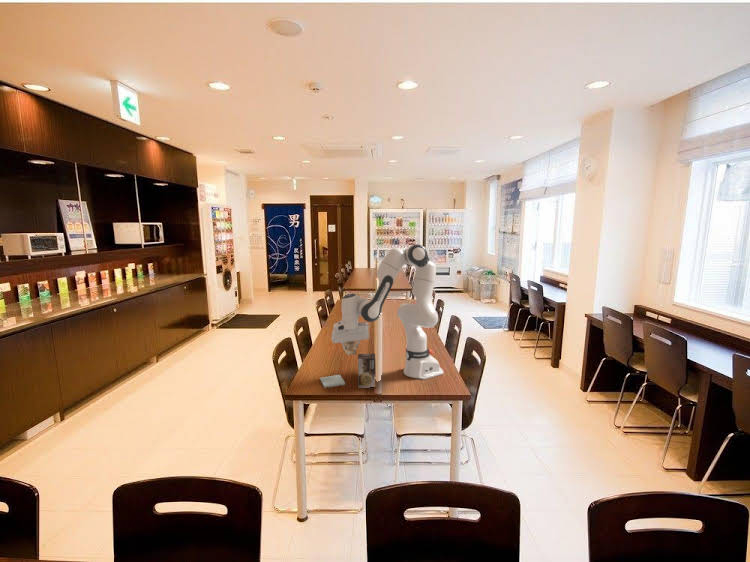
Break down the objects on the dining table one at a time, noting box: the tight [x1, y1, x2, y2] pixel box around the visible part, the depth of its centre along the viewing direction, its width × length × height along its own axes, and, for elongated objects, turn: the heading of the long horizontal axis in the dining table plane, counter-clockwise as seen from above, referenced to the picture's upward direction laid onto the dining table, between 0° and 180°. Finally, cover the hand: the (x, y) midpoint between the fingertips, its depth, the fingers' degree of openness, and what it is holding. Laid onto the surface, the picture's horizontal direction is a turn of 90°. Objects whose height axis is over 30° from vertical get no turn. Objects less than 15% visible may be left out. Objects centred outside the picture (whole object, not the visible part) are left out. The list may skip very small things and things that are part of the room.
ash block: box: [344, 341, 358, 356], centre depth 190 cm, size 5×5×6 cm
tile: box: [319, 374, 346, 389], centre depth 186 cm, size 11×11×1 cm
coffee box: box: [357, 353, 377, 389], centre depth 181 cm, size 9×6×16 cm
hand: (350, 348), depth 191 cm, fingers closed on ash block, 5 cm apart
